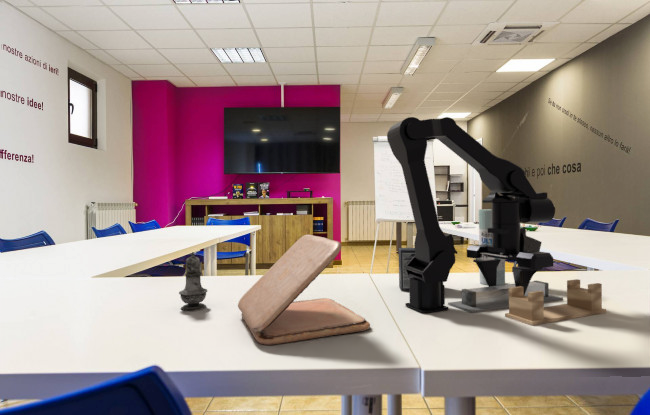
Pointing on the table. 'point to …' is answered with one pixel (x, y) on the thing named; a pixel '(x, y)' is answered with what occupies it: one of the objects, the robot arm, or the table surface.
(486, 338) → the table surface
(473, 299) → the rail
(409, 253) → the small box
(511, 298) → the cradle stand
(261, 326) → the case
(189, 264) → the salt shaker
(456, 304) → the mat
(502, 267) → the spray paint can
